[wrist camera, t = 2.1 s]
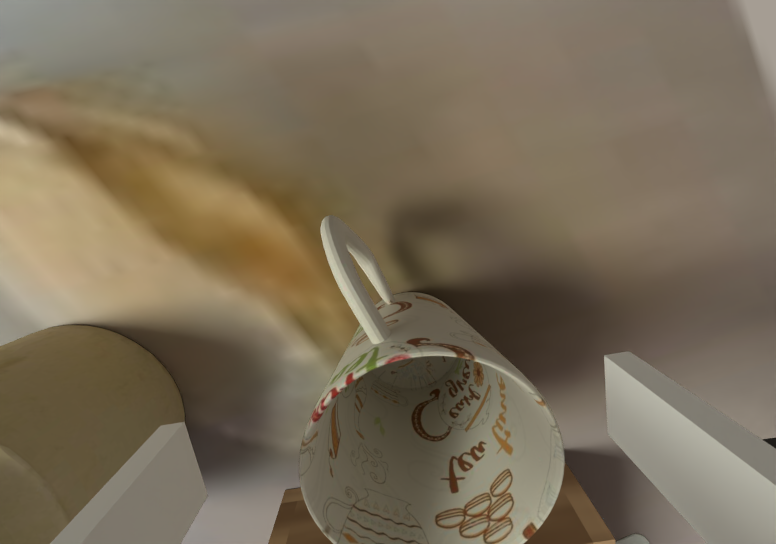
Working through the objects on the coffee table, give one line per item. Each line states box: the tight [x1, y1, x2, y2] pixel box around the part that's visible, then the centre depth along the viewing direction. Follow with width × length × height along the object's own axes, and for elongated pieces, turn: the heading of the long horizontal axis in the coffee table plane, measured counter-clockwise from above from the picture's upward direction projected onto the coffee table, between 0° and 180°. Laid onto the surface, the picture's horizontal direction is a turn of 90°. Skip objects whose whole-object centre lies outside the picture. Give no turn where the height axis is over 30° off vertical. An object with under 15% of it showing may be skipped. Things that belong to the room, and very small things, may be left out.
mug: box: [299, 215, 565, 544], centre depth 16 cm, size 8×13×10 cm, turn 29°
